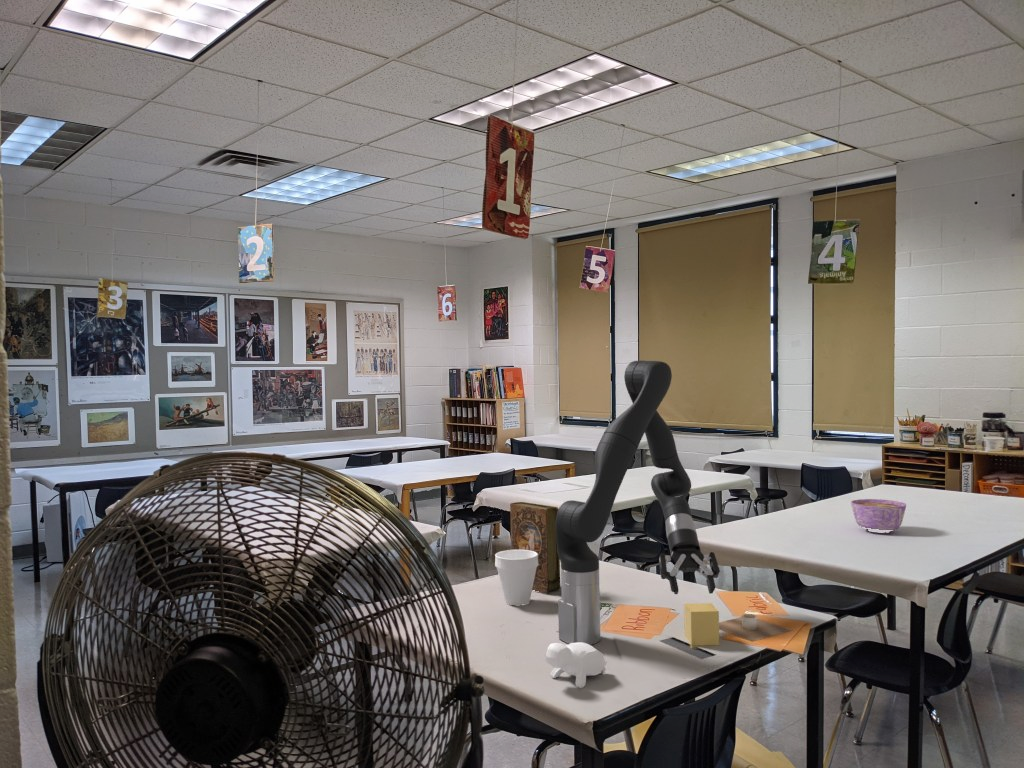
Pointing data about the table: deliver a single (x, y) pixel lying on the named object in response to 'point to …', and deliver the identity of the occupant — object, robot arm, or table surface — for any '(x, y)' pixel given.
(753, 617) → the white jar
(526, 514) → the book
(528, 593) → the cup
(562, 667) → the white animal figurine
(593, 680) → the table surface
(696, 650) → the mat
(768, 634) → the board
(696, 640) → the yellow block
